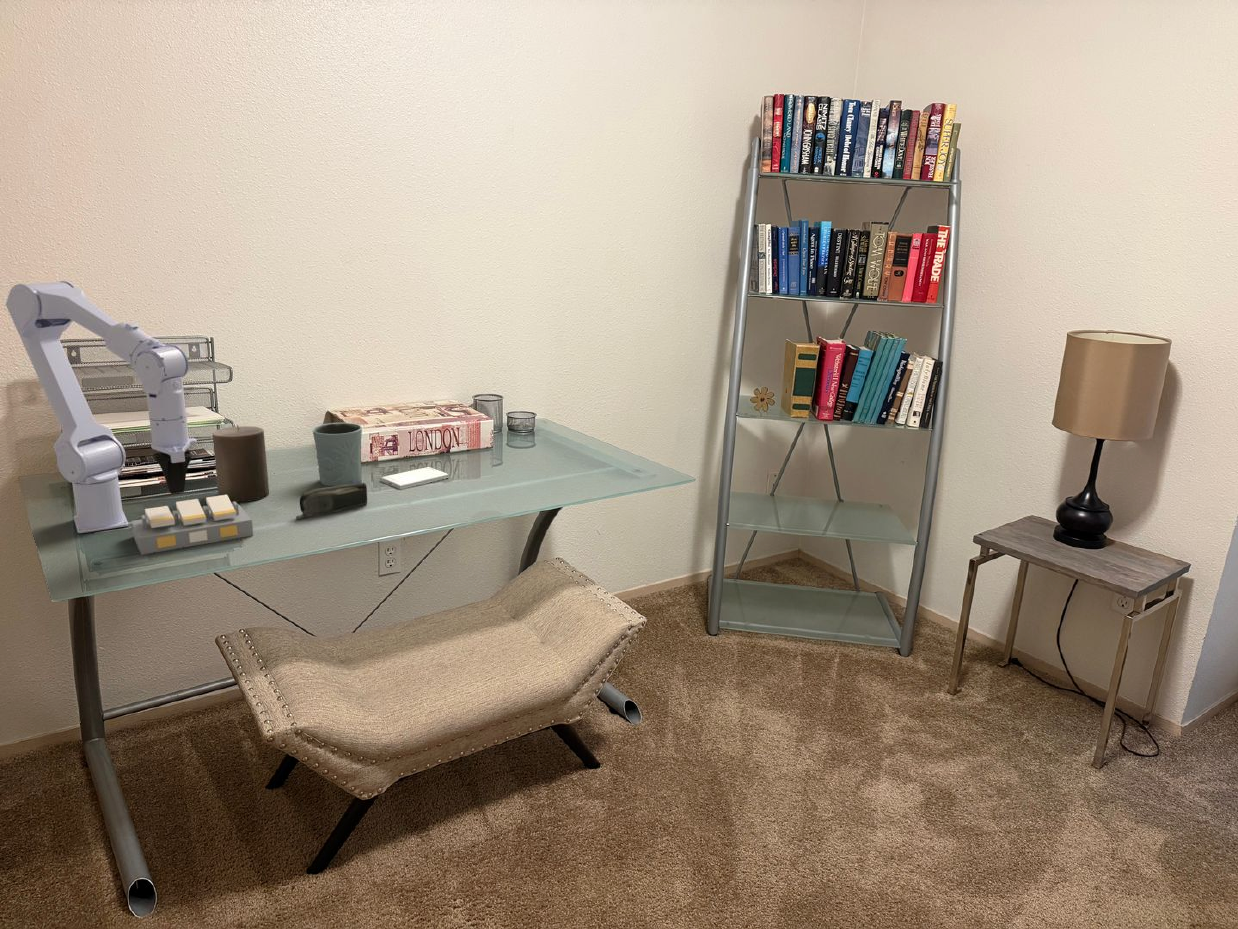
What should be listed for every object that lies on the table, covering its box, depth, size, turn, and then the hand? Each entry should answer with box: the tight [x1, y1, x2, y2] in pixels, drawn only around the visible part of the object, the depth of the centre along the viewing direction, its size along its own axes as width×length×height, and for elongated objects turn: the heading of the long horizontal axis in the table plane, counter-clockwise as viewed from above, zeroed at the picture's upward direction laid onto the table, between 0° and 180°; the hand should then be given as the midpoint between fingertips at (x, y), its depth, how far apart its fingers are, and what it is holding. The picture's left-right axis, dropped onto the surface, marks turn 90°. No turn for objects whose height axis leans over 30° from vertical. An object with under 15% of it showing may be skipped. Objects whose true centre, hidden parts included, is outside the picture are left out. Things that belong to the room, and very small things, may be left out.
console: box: [131, 501, 254, 555], centre depth 155 cm, size 10×18×5 cm, turn 125°
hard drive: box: [379, 466, 449, 490], centre depth 192 cm, size 2×8×12 cm
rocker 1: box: [144, 505, 175, 528], centre depth 151 cm, size 7×4×1 cm, turn 36°
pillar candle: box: [211, 424, 270, 503], centre depth 176 cm, size 10×10×15 cm
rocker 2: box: [175, 498, 206, 526], centre depth 154 cm, size 7×4×1 cm, turn 36°
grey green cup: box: [312, 422, 363, 487], centre depth 188 cm, size 10×10×12 cm
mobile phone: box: [295, 482, 368, 520], centre depth 170 cm, size 5×3×15 cm
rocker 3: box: [205, 495, 236, 521], centre depth 157 cm, size 7×4×1 cm, turn 36°
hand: (176, 492), depth 153 cm, fingers closed
